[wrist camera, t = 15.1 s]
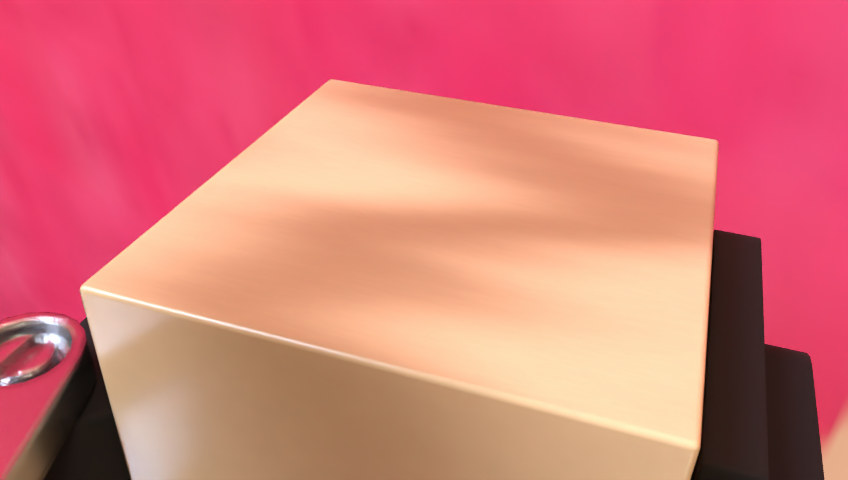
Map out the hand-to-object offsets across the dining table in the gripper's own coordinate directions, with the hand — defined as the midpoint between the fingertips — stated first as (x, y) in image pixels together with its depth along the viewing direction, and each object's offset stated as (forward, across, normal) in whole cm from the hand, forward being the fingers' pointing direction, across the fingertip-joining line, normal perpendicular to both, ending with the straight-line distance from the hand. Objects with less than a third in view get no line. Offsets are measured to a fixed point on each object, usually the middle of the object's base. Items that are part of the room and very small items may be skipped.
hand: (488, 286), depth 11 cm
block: (0, 0, 0) cm, 0 cm away
